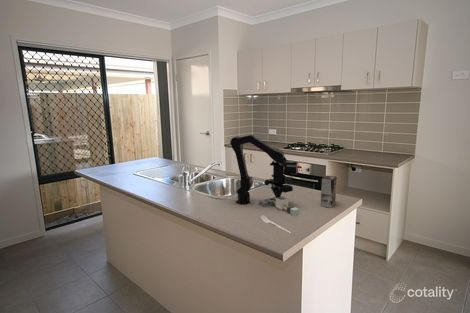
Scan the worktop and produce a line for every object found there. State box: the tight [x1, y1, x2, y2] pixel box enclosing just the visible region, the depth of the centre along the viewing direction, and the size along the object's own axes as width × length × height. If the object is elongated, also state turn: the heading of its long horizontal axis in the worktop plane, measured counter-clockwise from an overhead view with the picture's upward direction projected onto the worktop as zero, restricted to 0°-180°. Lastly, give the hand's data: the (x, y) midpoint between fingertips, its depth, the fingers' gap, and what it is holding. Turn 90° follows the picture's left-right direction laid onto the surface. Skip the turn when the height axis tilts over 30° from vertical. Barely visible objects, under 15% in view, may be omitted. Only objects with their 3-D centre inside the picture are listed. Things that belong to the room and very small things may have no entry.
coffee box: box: [320, 175, 338, 208], centre depth 162 cm, size 9×6×16 cm
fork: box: [260, 215, 291, 234], centre depth 137 cm, size 3×20×2 cm, turn 35°
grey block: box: [275, 196, 289, 211], centre depth 158 cm, size 5×5×5 cm
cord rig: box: [258, 195, 300, 216], centre depth 158 cm, size 23×16×3 cm
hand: (277, 199), depth 162 cm, fingers closed
